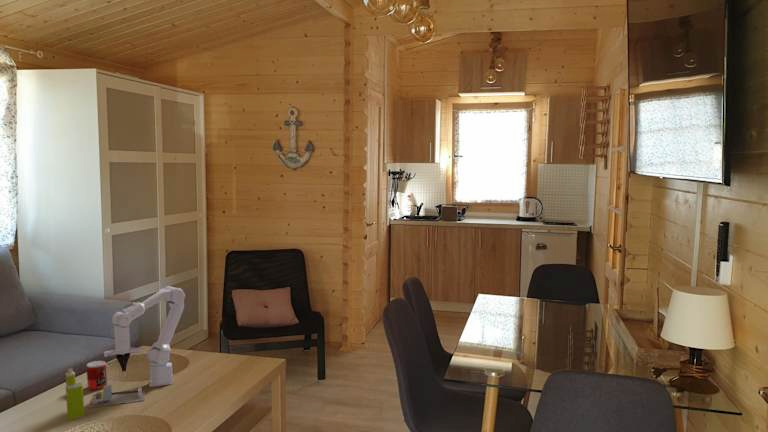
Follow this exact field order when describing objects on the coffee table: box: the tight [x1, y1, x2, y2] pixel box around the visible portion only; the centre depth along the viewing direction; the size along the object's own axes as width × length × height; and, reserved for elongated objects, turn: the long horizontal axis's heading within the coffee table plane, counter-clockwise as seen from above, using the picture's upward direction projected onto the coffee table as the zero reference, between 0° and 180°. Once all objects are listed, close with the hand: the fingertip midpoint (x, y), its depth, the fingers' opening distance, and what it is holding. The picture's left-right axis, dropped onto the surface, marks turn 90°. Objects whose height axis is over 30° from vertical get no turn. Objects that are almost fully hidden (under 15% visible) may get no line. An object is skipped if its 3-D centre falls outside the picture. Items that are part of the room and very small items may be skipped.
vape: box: [65, 367, 85, 421], centre depth 226 cm, size 4×6×20 cm, turn 139°
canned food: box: [86, 360, 108, 391], centre depth 257 cm, size 8×8×11 cm
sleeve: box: [102, 384, 113, 400], centre depth 242 cm, size 3×3×5 cm
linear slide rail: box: [88, 387, 146, 409], centre depth 243 cm, size 21×10×4 cm, turn 109°
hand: (124, 370), depth 249 cm, fingers closed
